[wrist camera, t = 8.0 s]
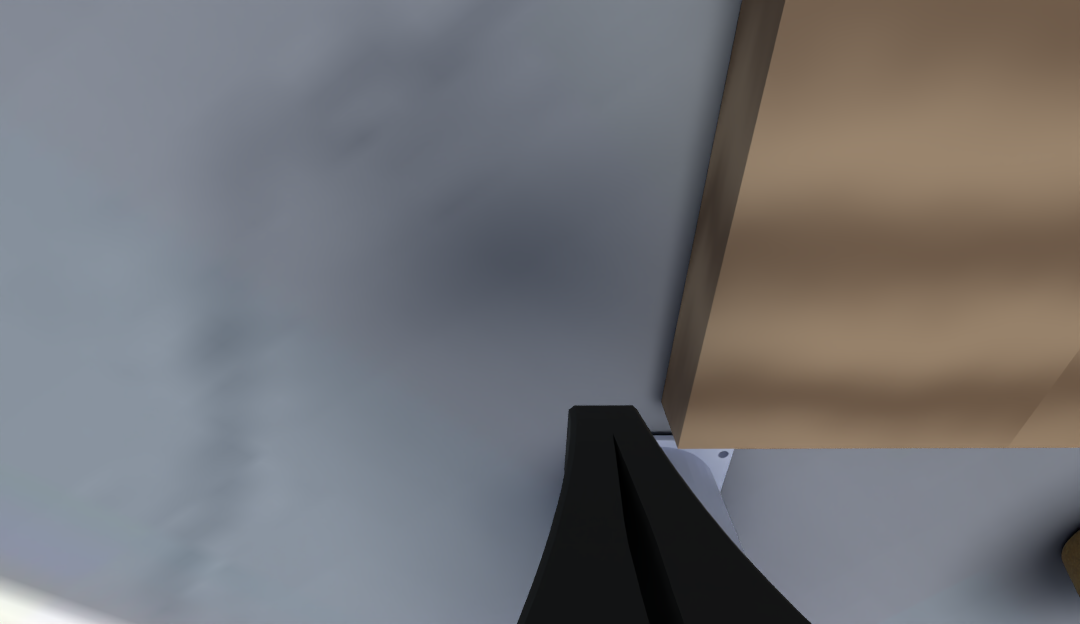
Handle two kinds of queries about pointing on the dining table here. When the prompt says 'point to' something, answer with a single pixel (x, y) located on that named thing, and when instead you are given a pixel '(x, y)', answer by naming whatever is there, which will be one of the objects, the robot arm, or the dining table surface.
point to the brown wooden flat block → (888, 232)
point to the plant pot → (1073, 559)
